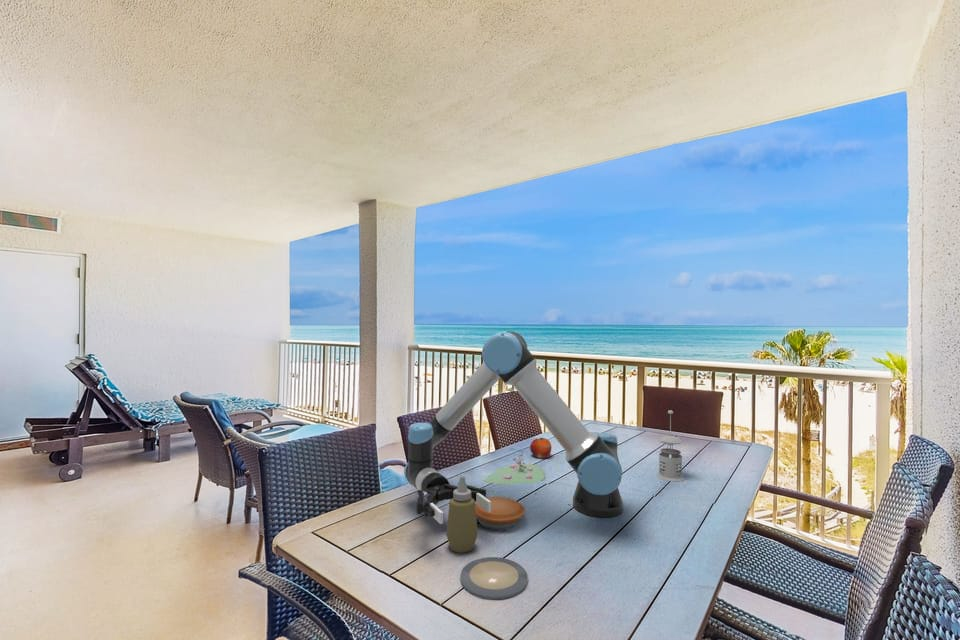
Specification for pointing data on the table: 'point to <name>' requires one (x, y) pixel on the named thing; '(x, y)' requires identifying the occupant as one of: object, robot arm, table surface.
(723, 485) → the table surface
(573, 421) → the robot arm
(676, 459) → the french press
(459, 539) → the squeeze bottle
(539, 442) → the tomato
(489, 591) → the coaster
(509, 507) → the pie
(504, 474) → the plant
